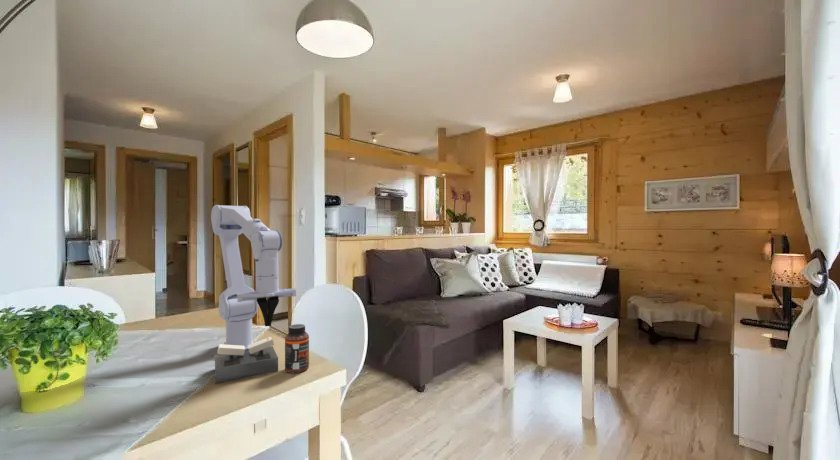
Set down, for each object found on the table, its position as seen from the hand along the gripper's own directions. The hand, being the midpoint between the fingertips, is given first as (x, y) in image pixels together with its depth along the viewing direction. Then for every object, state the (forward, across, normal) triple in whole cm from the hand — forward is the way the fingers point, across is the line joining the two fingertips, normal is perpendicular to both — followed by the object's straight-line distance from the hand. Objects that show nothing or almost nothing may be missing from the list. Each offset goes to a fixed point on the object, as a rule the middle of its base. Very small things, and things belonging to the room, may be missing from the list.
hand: (267, 325), depth 96 cm
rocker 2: (+5, -2, 0) cm, 5 cm away
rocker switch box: (+10, -6, -2) cm, 12 cm away
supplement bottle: (+11, +6, -8) cm, 15 cm away
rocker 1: (+5, -9, 0) cm, 10 cm away
